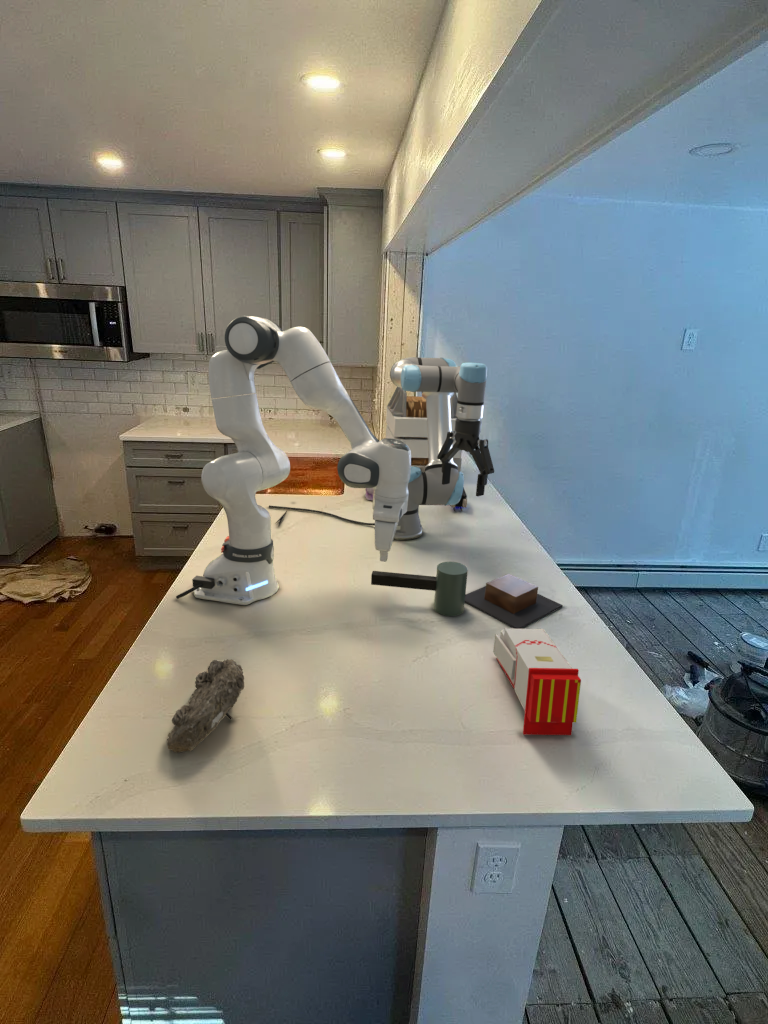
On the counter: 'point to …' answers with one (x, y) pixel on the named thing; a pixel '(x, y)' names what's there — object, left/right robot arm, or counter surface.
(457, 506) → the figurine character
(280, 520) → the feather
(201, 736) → the fossil
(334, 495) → the counter surface
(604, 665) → the counter surface
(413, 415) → the white wooden crate
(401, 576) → the green mallet
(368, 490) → the figurine
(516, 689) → the toy
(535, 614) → the coaster
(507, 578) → the brown square block
